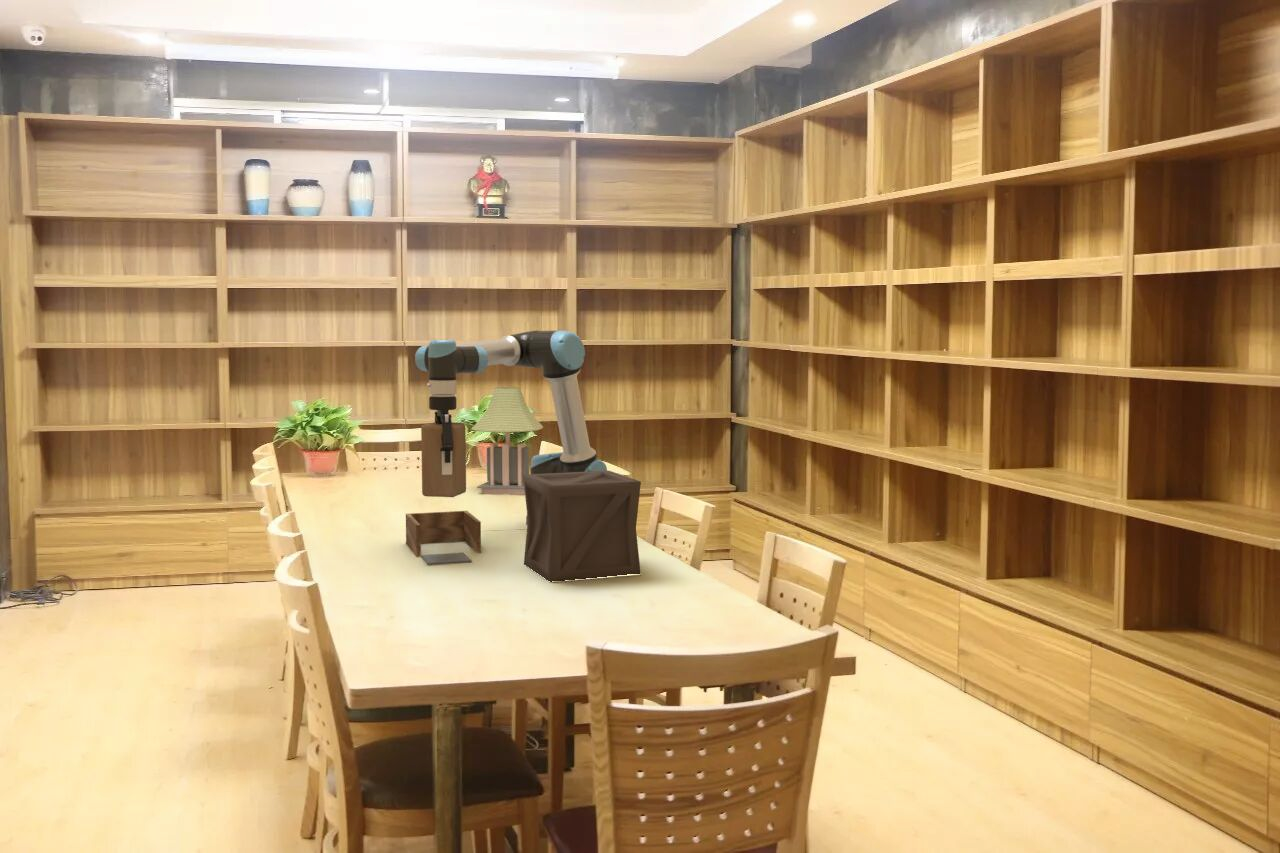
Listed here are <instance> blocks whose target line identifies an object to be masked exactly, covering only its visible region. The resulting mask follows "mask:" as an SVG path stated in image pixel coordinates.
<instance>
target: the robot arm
mask: <svg viewBox="0 0 1280 853" xmlns="http://www.w3.org/2000/svg"><path fill="white" fill-rule="evenodd" d="M584 345H585V344H584V343H583V341H582V339H581V338H580V337H579V336H578V334H576V333H575V332H572V331H569V330H568V331H567V330H562V329H561V330H560V329H559V330H529V331H525V332H520V333H514V334H507V335H504V336H501V338H500V339H489V340H482V341H480V340H479V341H471V342H470V341H469V342H460V343H457V342H456V340H454V339H433V340H430V342H429V343H428V345H423V346H420V347H419V348H418V349H417V350H416V352H415V354H414V360H415V361H414V362H415V365H416V367H417V369H419V370H420V371H423V372H427V373H428V380H429V381H428V383H427V384H426V387H427V388H428V393H429V395H430V396H429V397H428V408H429V410H430V411H434V422H435V423H437V424H438V425H440V424H442V432H443V433H441V440H442V448H440V451H442V475H452V449H453V448H454V446H453V437H452V425H451V422H452V414H450V413H449V411H454V410H456V409H457V397H456V396H455V395H457V392H458V391H457V381H458V380H457V374H476V373H482V372H484V371H485V370H486V368H488V366H495V365H496V366H497V365H504V366H506V367H512V366H513V367H514V366H516V367H525V368H535V369H536V368H537V369H541V370H542V376H543V378H544V379H545V380H547V381H548V382H549V386H550V390H551V396H552V400H553V401H552V402H553V405H554V410H555V411H554V412H555V417H556V420H557V426H558V430H559V432H558V433H559V435H560V436H559V437H560V441H561V446H562V451H563V452H553V453H552V452H551V453H543V454H537V455H534V456H532V458H531V460H530V461H531V463H530V467H529V470H530V474H548V473H569V472H590V471H608V467H607V464H606V463H605V462H604V461H603V460H600V459H598V457H597V452H596V449H594V448H593V447H592V446H591V445H590V440H589V434H588V428H587V424H586V423H587V422H586V418H585V414H584V413H585V412H584V408H583V403H582V397H581V392H580V386H579V383H578V375H579V373H580V372H581V366H583V364H584V362H585V359H584V358H585V356H586V351H585V346H584ZM525 517H526V519H525V524H526V525H527V524H528V517H527V515H526V516H525Z"/></svg>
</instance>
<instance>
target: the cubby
mask: <svg viewBox="0 0 1280 853" xmlns="http://www.w3.org/2000/svg"><path fill="white" fill-rule="evenodd" d="M481 523H482V522H481V520H479V519H478V518H477V517H475V516H474V515H473V514H472V513H471V512H470V511H468V510H454V511H433V512H432V511H431V512H412V513H405V544H406V545H407V547H408V548H409V549H410V551H411V552H412V553H413V554H414V556H415V557H417V558H418V557H421V555H422V549H421V548H422V547H421V544H433V543H435V544H437V543H451V542H452V543H453V542H465V543H466V544H467V546H469V547H470V549H472V550H473V551H474V552H475V553H476V554H481V553H482V534H481V533H482V530H481V528H482V524H481Z"/></svg>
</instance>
